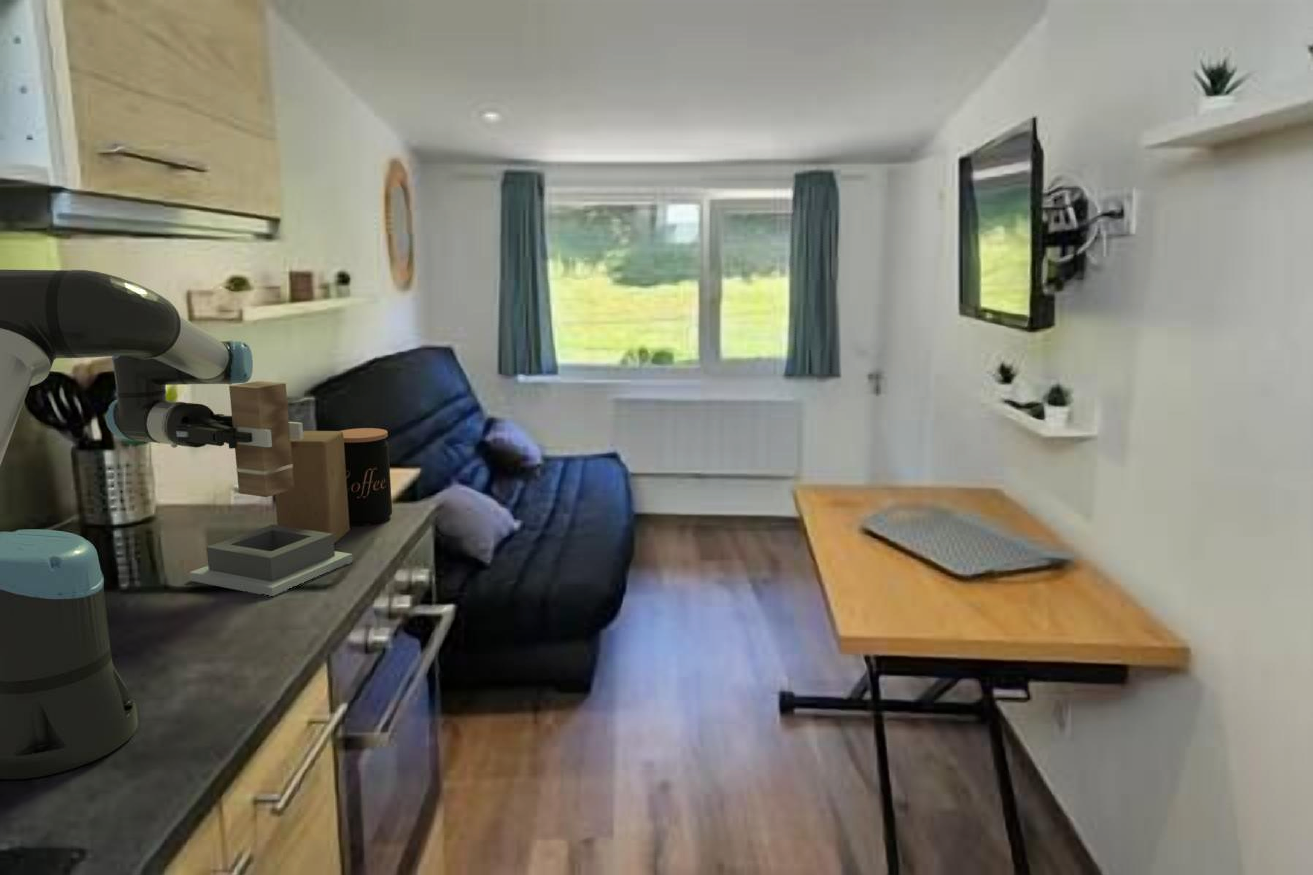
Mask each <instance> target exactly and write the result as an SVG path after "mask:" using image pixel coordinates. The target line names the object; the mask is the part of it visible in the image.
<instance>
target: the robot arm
mask: <svg viewBox="0 0 1313 875" xmlns="http://www.w3.org/2000/svg"><path fill="white" fill-rule="evenodd" d="M103 357H104V358H107V357H108V358H109V357H111V361H112V365H113V372H114V374H113V375H114V380H115V388H116V394H117V395H116V399H115V400H114V401H112V402H111V403H110V404H109V406H108V409H107V411H106V414H105V422H106V426H107V428H108V429H109V431H110V432H111V433H112V434H113V435H115V436H116V437H118V438H121V439H125V440H126V439H127V440H130V441H133V442H147V443H156V444H166V445H167V444H169V445H170V446H171V448H173V449H174V448H177V447H178V446H181V447H189V448H202V447H205V446H207V445H210V446H215V447H217V446H218V447H222V446H225V444H228V449H235V448H237V443H236V442H238V444H243V445H252V446H261V447H272V439H271V430H266V429H256V428H247V427H238V428H237V431H235V428H233V422H232V415H225V414H223V413H214V411H213V409H211V408H210V407H209V406H207V405H205V404H203V403H202V404H201V403H193V402H192V403H191V402H185V401H174V400H173V401H172V400H167V395H166V393H167V389H166V387H167V386H171V385H172V386H174V385H180V386H181V385H188V386H189V385H226V384H227V385H228V386H231V385H236V384H244V383H249V381H250V380H251V378H252V375H253V371H254V366H253V365H254V364H253V362H254V361H253V353H252V351H251V348H250V346H249V345H248V343H246V341H238V340H237V341H234V340H228V341H223V340H219V338H217V337H216V336H214V335H212V334H210V333H208V332H207V331H205V330H203V329H202V328H200V327H199V326H197V325H195V324H194V323H192V322H191V321H189V320H187V319H185V317H183V316H181V315H180V313H179V311H178V310H177V308H176V307H175V305H174V304H173V303H172V302H171V301H169V299H168V298H166V297H163V296H162V295H161V294H159V293H157V292H155V291H154V290H151V289H149V288H147V287H145V286H143V285H140V284H138V283H135V282H132V281H130V280H128V279H125V278H122V277H118V276H117V275H112V274H109V273H105V272H104V273H103V272H101V271H95V270H88V269H68V270H66V269H65V270H64V269H60V270H59V269H58V270H56V269H0V466H1V464H2V462H3V459H4V456H5V454H6V452H7V449H8V445H9V442H10V441H11V437H12V435H13V432H14V429H15V426H16V423H17V421H18V419H19V415H20V413H21V410H22V408H23V405H24V402H25V399H26V397H27V394H28V391H29V389H30V387H32V386H35V385H36V386H37V385H38V384H40V383H42V382H43V381H45V380H46V379H47V378H48V376H49V375H50V372H51V370H52V366H53V365H54V364H53V363H54V361H55V360H56V359H85V358H87V359H88V358H90V359H91V358H103ZM303 429H304V427H303V422H297V421H289V432H290V439H299V440H301V439H303V431H304V430H303ZM104 583H105V578H104V574H103V572H102V569H101V565H100V560H99V555H98V552H97V549H96V548H95V546H94V545H93V544H92V543H91V542H90V540H87V539H86V538H84V537H83V536H80V535H78V534H76V533H71V532H67V531H63V530H61V531H60V530H55V529H54V530H53V529H42V528H41V529H36V528H35V529H29V528H28V529H17V530H15V531H0V779H1V780H23V779H24V780H26V779H34V778H40V777H47V776H50V775H55V774H59V773H63V772H67V771H69V770H73V769H76V768H79V767H82V766H84V765H87V764H89V763H92V762H94V761H97V760H99V759H101V758H103V757H105V756H107V755H109V754H111V753H112V752H114V751H115V750H117V749H118V748H120V747H121V746H123V745H124V744H125V743H127V742H128V741H129V740H130V739H131V738H132V737H133V735H134V734H135V733H136V731H137V729H138V727H139V721H138V714H137V713H138V712H137V711H138V710H137V706H136V705H137V704H136V703H135V700H134V699H133V697H132V695H131V694H130V692H129V690H128V688H127V686H126V685H125V683H124V681H123V679H122V678H121V676H120V674H119V672H118V671H117V669H116V667H115V665H114V663H113V659H112V650H111V644H110V634H109V625H108V617H107V614H108V613H107V607H106V599H105V590H104V589H105V588H104Z"/></svg>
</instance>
